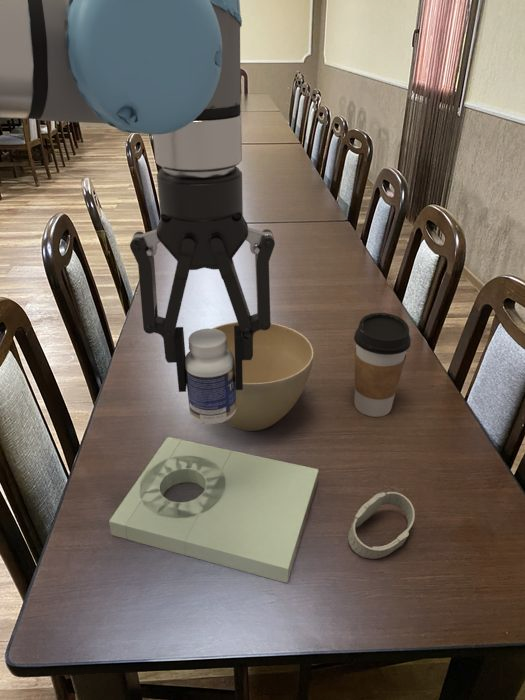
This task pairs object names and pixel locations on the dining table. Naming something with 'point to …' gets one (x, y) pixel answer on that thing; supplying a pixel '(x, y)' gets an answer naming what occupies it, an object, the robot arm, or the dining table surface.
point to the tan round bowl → (270, 375)
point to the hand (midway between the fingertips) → (211, 383)
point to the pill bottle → (210, 377)
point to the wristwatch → (368, 510)
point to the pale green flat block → (221, 508)
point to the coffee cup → (379, 361)
